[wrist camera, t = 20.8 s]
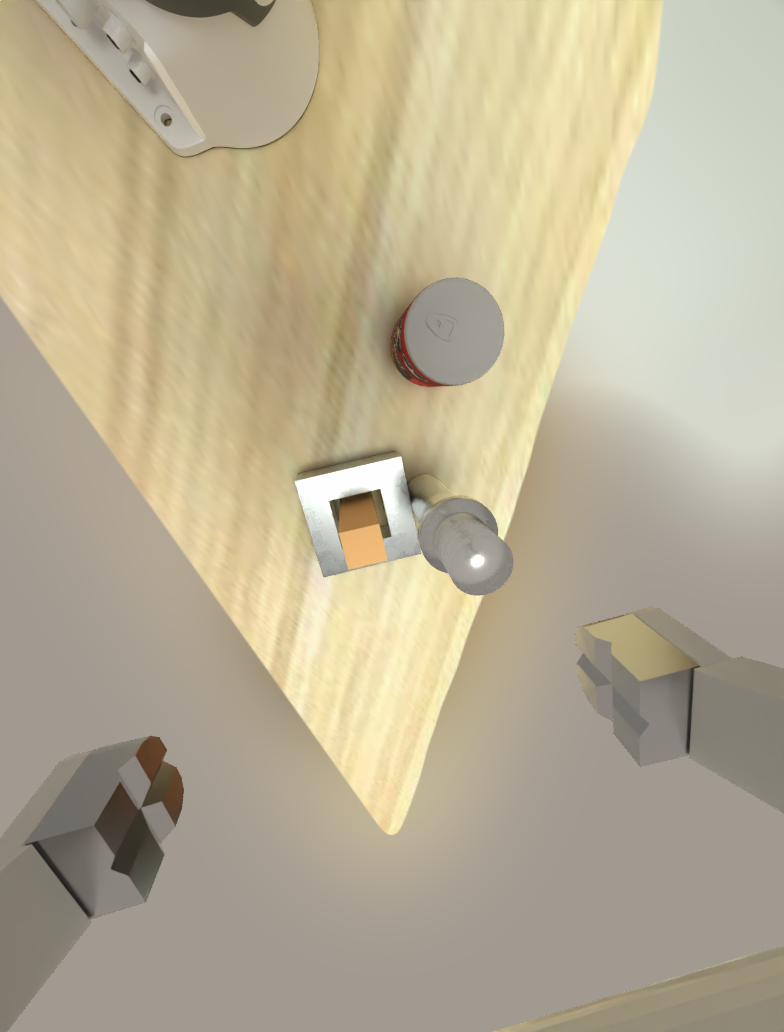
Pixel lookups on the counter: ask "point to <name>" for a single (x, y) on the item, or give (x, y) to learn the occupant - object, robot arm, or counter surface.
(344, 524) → the tall orange pillar block
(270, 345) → the counter surface
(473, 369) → the canned food
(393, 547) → the grey socket with post
